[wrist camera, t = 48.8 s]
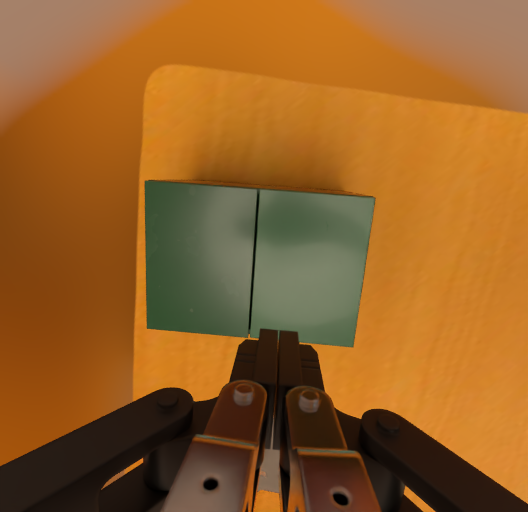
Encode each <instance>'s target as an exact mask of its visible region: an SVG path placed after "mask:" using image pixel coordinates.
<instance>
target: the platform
mask: <svg viewBox="0 0 528 512" xmlns="http://www.w3.org/2000/svg"><path fill="white" fill-rule="evenodd" d="M273 425H274V418H273ZM279 459H280V450H273V427H272V437H271V448H270V449H265V451H264V460H263V463H262V465H261V471H260V478H259V484H258V490H257V492H258V491H259V490H260V489H261V490H266V491H271V492H276V493H279V482H278V469H279Z"/></svg>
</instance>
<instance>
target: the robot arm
mask: <svg viewBox="0 0 528 512" xmlns="http://www.w3.org/2000/svg"><path fill="white" fill-rule="evenodd" d="M273 416H274V425H273ZM272 427H273V450H280V459H279V469H278V482H279V497H280V512H423V511H422V510H421V509H420V508H419V507H417V506H416V505H415V504H414V503H413V502H412V501H411V500H410V499H408V498H407V497H406V496H405V495H404V489H405V485H406V486H407V487H408V488H409V489H410V490H412V491H413V492H414V493H415V494H416V495H417V496H418V497H420V498H421V499H422V500H423V501H424V502H425V503H426V504H428V505H429V506H430V507H431V508H432V509H433V510H435V511H436V512H528V504H527V503H526V502H524V501H523V500H521V499H520V498H518V497H517V496H515V495H514V494H513V493H511V492H510V491H508V490H507V489H505V488H504V487H502V486H501V485H500V484H498V483H497V482H495V481H494V480H492V479H491V478H489V477H488V476H487V475H485V474H484V473H482V472H481V471H479V470H478V469H476V468H475V467H474V466H472V465H471V464H469V463H468V462H466V461H465V460H463V459H462V458H461V457H459V456H458V455H456V454H455V453H453V452H452V451H450V450H449V449H448V448H446V447H445V446H443V445H442V444H440V443H439V442H437V441H436V440H435V439H433V438H432V437H430V436H429V435H427V434H426V433H424V432H423V431H422V430H420V429H419V428H417V427H416V426H414V425H413V424H411V423H410V422H409V421H407V420H406V419H404V418H403V417H401V416H400V415H398V414H396V413H394V412H391V411H388V410H384V409H371V410H368V411H366V412H365V413H364V414H363V415H362V419H359V418H356V417H353V416H350V415H347V414H344V413H342V412H340V411H339V410H337V409H336V408H334V405H333V402H332V400H331V398H330V397H329V396H328V395H327V394H326V393H325V390H324V385H323V380H322V375H321V369H320V364H319V359H318V354H317V352H316V351H315V350H314V349H313V348H312V346H311V345H302V344H299V338H298V332H296V331H286V330H280V331H279V341H278V330H274V329H263V328H260V333H259V340H248V339H246V340H245V341H243V342H242V343H241V344H240V345H239V347H238V350H237V355H236V358H235V362H234V366H233V369H232V373H231V377H230V381H229V383H228V384H226V385H225V386H224V387H223V388H222V390H221V392H220V394H219V396H218V397H216V398H213V399H210V400H205V401H198V402H193V398H192V396H191V394H190V393H189V392H187V391H186V390H183V389H180V388H163V389H160V390H157V391H155V392H152V393H150V394H148V395H146V396H144V397H142V398H140V399H138V400H136V401H134V402H132V403H130V404H128V405H126V406H124V407H122V408H120V409H117V410H116V411H113V412H111V413H109V414H107V415H105V416H103V417H101V418H99V419H97V420H95V421H93V422H91V423H89V424H87V425H85V426H82V427H80V428H78V429H76V430H74V431H72V432H70V433H68V434H66V435H64V436H62V437H60V438H58V439H56V440H54V441H52V442H49V443H47V444H45V445H43V446H41V447H39V448H37V449H35V450H33V451H31V452H29V453H27V454H25V455H23V456H21V457H19V458H17V459H14V460H12V461H10V462H8V463H6V464H4V465H2V466H0V512H254V509H255V503H256V497H257V490H258V484H259V478H260V471H261V465H262V463H263V460H264V451H265V449H270V448H271V437H272ZM142 458H143V463H142V464H140V465H139V466H137V467H136V468H134V469H133V470H131V471H130V472H128V473H127V474H125V475H123V476H122V477H121V478H119V479H117V480H116V481H114V482H113V483H111V484H110V485H108V486H106V487H105V488H103V489H102V487H103V486H104V485H105V483H106V482H107V481H108V480H109V479H111V478H112V477H113V476H115V475H116V474H118V473H119V472H121V471H123V470H124V469H126V468H127V467H129V466H130V465H132V464H134V463H135V462H137V461H138V460H140V459H142ZM101 489H102V490H101Z"/></svg>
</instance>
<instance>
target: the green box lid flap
mask: <svg viewBox="0 0 528 512" xmlns="http://www.w3.org/2000/svg"><path fill="white" fill-rule="evenodd" d="M374 205H375V198H374V197H361V196H347V195H334V194H320V193H307V192H294V191H280V190H267V189H260V193H259V208H258V223H257V238H256V253H255V268H254V283H253V298H252V313H251V328H250V337H251V338H259V333H260V328H263V329H274V330H278V340H279V331H280V330H286V331H296V332H298V338H299V342H303V343H313V344H323V345H334V346H344V347H353V345H354V338H355V332H356V325H357V318H358V312H359V305H360V298H361V292H362V285H363V278H364V271H365V265H366V258H367V251H368V245H369V238H370V231H371V225H372V218H373V211H374Z"/></svg>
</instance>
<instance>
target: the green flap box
mask: <svg viewBox="0 0 528 512" xmlns="http://www.w3.org/2000/svg"><path fill="white" fill-rule="evenodd" d="M260 189H267V190H280V191H294V192H307V193H320V194H334V195H347V196H361V197H373V196H368V195H362V194H357V193H352V192H346V191H339V190H325V189H312V188H298V187H285V186H271V185H258V184H244V183H231V182H217V181H204V180H148V181H145V235H146V302H147V329H157V330H168V331H179V332H190V333H201V334H212V335H223V336H234V337H245V338H248V334H250V328H251V313H252V298H253V283H254V268H255V253H256V238H257V223H258V208H259V193H260Z"/></svg>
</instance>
